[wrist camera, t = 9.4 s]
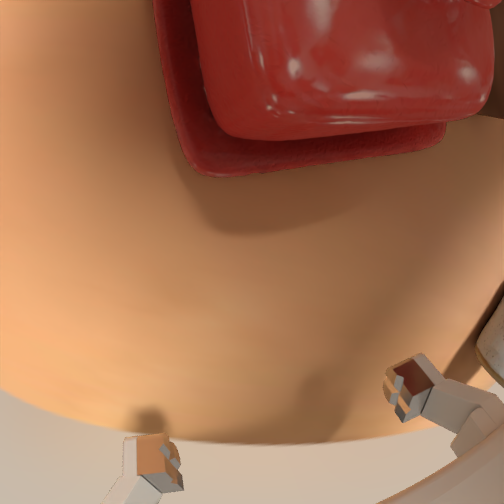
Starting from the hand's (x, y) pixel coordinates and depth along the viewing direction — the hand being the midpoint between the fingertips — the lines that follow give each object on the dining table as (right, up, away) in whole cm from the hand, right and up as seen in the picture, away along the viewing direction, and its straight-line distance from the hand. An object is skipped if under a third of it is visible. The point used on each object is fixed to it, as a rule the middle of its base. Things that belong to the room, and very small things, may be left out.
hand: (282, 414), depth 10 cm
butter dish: (+1, +15, 0) cm, 15 cm away
